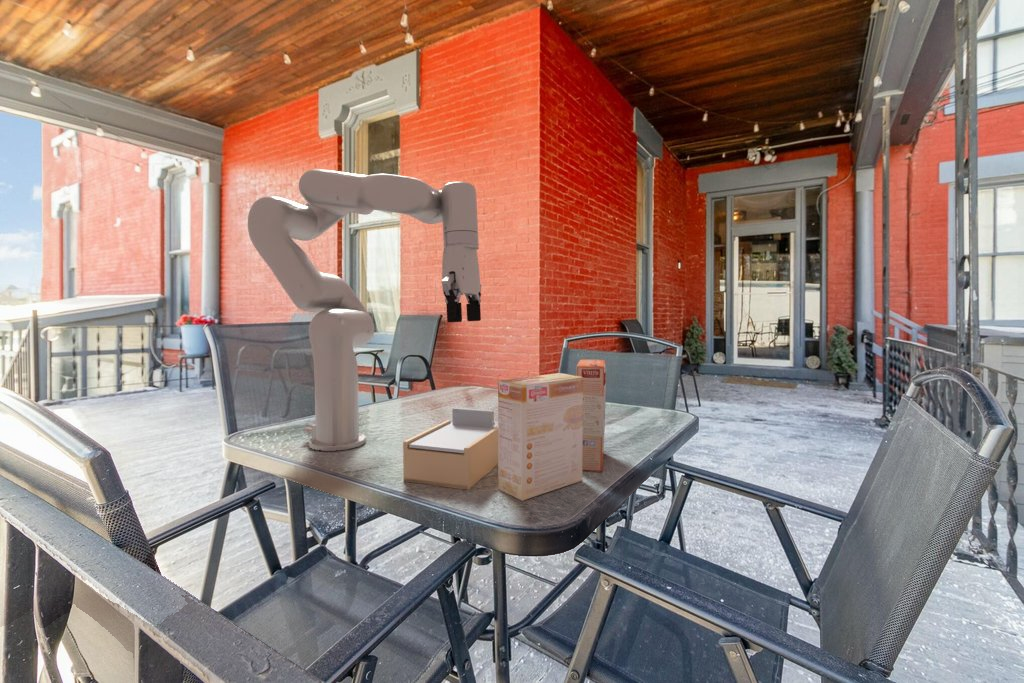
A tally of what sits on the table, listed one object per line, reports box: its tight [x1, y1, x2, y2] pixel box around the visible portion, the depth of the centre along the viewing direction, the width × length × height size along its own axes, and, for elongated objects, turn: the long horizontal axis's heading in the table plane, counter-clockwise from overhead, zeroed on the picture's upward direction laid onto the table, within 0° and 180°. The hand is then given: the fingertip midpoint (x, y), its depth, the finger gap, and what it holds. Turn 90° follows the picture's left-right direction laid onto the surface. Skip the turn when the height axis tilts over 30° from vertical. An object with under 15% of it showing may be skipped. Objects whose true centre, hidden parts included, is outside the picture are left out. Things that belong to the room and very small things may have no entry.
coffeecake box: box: [497, 372, 583, 502], centre depth 84 cm, size 15×7×20 cm, turn 129°
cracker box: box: [575, 358, 607, 473], centre depth 97 cm, size 14×6×21 cm, turn 168°
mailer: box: [402, 419, 498, 490], centre depth 92 cm, size 13×18×7 cm
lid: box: [409, 407, 496, 453], centre depth 92 cm, size 11×17×4 cm, turn 161°
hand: (464, 321), depth 102 cm, fingers open, 9 cm apart
